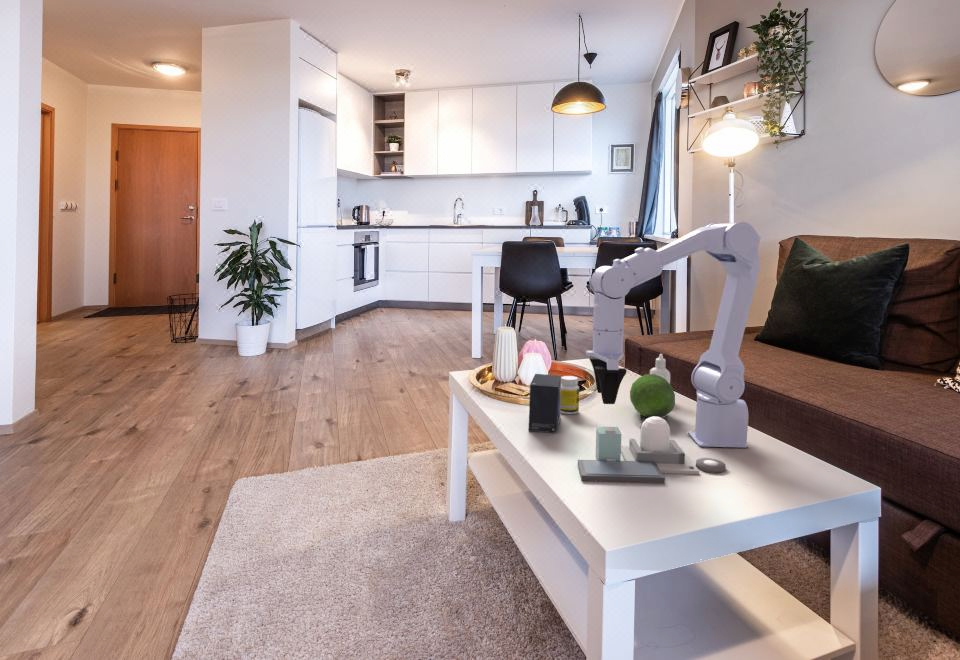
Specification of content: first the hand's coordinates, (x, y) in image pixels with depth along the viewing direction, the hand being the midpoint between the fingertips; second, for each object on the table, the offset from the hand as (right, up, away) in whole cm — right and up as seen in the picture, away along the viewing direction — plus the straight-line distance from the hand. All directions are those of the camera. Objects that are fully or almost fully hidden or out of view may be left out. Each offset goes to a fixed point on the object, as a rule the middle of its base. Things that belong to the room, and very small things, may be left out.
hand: (605, 397), depth 111 cm
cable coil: (+17, -12, -7) cm, 22 cm away
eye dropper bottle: (+21, -5, +36) cm, 42 cm away
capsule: (+9, -11, -3) cm, 14 cm away
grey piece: (+9, -11, -4) cm, 15 cm away
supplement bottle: (-3, -7, +26) cm, 27 cm away
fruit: (+16, -7, +23) cm, 29 cm away
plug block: (-1, -11, -4) cm, 12 cm away
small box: (-10, -8, +16) cm, 21 cm away
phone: (0, -12, -10) cm, 16 cm away
